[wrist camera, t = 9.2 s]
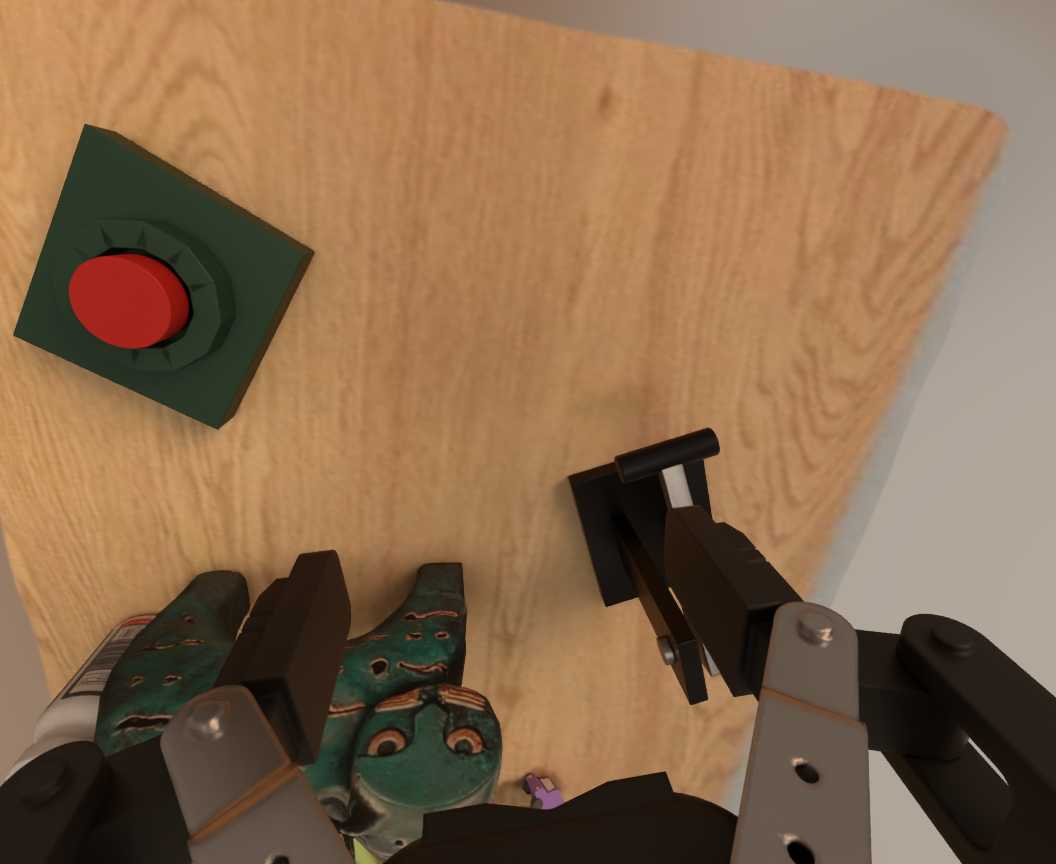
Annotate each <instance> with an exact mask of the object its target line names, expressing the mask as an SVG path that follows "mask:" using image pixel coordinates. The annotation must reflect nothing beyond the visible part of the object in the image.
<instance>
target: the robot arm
mask: <svg viewBox="0 0 1056 864" xmlns="http://www.w3.org/2000/svg"><path fill="white" fill-rule="evenodd" d="M664 568H665V573H666V577H667V580H668V583H669V585H670V587H671V589H672V590H673V592H674V594H675V595H676V597H677V599H678V601H679V602H680V604H681V606H682V608H683V609H684V611H685V613H686V615H687V616H688V618H689V620H690V622H691V623H692V625H693V627H694V629H695V630H696V632H697V634H698V635H699V637H700V639H701V641H702V642H703V644H704V646H705V648H706V649H707V651H708V653H709V655H710V656H711V658H712V660H713V662H714V663H715V665H716V667H717V669H718V670H719V672H720V674H721V676H722V677H723V679H724V681H725V682H726V684H727V686H728V688H729V689H730V691H731V693H732V695H733V696H734V697H737V696H744V695H750V694H754V696H755V698H756V699H757V701H758V703H759V704H758V709H757V715H756V720H755V726H754V732H753V737H752V743H751V748H750V754H749V759H748V765H747V771H746V776H745V782H744V787H743V793H742V798H741V804H740V809H739V815H738V817H737V816H736V815H734V814H733V813H731V812H729V811H728V810H726V809H724V808H722V807H720V806H718V805H716V804H714V803H712V802H709V801H707V800H704V799H701V798H698V797H695V796H691V795H687V794H683V793H675V792H673V790H672V787H671V784H670V782H669V779H668V776H667V774H666V771H665V772H659V773H653V774H648V775H642V776H636V777H630V778H625V779H619V780H613V781H608V782H606V783H604V784H602V785H600V786H598V787H596V788H594V789H592V790H590V791H588V792H586V793H584V794H582V795H579V796H577V797H575V798H573V799H571V800H569V801H567V802H565V803H563V804H561V805H559V806H557V807H555V808H552V809H536V808H527V807H517V806H508V805H498V804H489V803H482V804H477V805H471V806H465V807H460V808H454V809H448V810H443V811H437V812H431V813H425V814H423V829H422V837H421V838H419V839H417V840H415V841H413V842H411V843H410V844H408V845H407V846H405V847H403V848H402V849H400V850H399V851H397V852H396V853H395V854H394V855H392V856H391V857H390V858H389V859H387V860H386V861H385V862H384V863H382V864H872V862H871V861H872V860H871V826H870V793H869V759H868V750H875V751H881V752H882V754H883V755H884V757H885V758H886V759H887V761H888V762H889V764H890V765H891V766H892V768H893V769H894V770H895V772H896V773H897V775H898V776H899V777H900V779H901V780H902V782H903V783H904V784H905V785H906V787H907V788H908V790H909V791H910V793H911V794H912V795H913V797H914V798H915V799H916V801H917V802H918V804H919V805H920V806H921V808H922V809H923V811H924V812H925V813H926V815H927V816H928V817H929V819H930V820H931V821H932V823H933V824H934V826H935V827H936V829H937V830H938V831H939V833H940V834H941V835H942V837H943V838H944V839H945V841H946V842H947V844H948V845H949V847H950V848H951V849H952V850H953V852H954V853H955V855H956V856H957V857H958V859H959V860H960V862H961V863H962V864H1056V697H1054V696H1053V695H1052V694H1051V693H1050V692H1049V691H1047V690H1046V689H1045V688H1044V687H1043V686H1042V685H1040V684H1039V683H1038V682H1037V681H1036V680H1035V679H1034V678H1032V677H1031V676H1030V675H1029V674H1028V673H1026V672H1025V671H1024V670H1023V669H1022V668H1021V667H1020V666H1018V665H1017V664H1016V663H1015V662H1014V661H1013V660H1011V659H1010V658H1009V657H1008V656H1007V655H1006V654H1005V653H1003V652H1002V651H1001V650H1000V649H999V648H998V647H996V646H995V645H994V644H993V643H992V642H991V641H989V640H988V639H987V638H985V636H983V635H982V634H981V633H979V632H978V631H976V630H974V629H973V628H971V627H969V626H967V625H965V624H963V623H960V622H958V621H956V620H953V619H950V618H947V617H944V616H939V615H933V614H918V615H913V616H911V617H909V618H907V619H906V620H905V621H904V623H903V626H902V630H901V633H900V634H892V633H882V632H873V631H864V630H857V629H854V628H853V627H852V625H851V624H850V623H849V622H848V621H847V620H846V619H845V618H843V617H842V616H841V615H839V614H838V613H836V612H835V611H833V610H831V609H829V608H827V607H824V606H821V605H818V604H815V603H810V602H804V601H803V600H802V598H801V597H800V596H799V595H798V594H797V593H796V592H795V591H794V590H793V588H792V587H791V586H790V585H789V584H788V583H787V582H786V581H785V580H784V578H783V577H782V576H781V575H780V574H779V573H778V572H777V571H776V570H775V568H774V567H773V566H772V565H771V564H770V563H769V562H766V558H765V557H764V556H763V555H762V554H761V553H760V552H759V551H758V550H756V549H755V546H754V545H753V544H752V543H751V542H750V541H749V539H748V538H747V537H746V536H745V535H744V534H743V533H742V532H740V531H738V530H737V529H735V528H733V527H731V526H730V525H728V524H726V523H725V522H721V523H715V522H714V520H713V519H712V518H711V517H710V516H709V514H708V513H707V512H706V511H705V510H704V508H703V507H702V506H700V505H693V506H685V507H677V508H670V509H668V511H667V514H666V528H665V545H664ZM350 625H351V605H350V600H349V596H348V592H347V588H346V584H345V580H344V576H343V573H342V569H341V565H340V561H339V557H338V554H337V552H336V551H335V550H327V551H319V552H311V553H303V554H300V555H299V556H298V558H297V560H296V562H295V564H294V566H293V569H292V571H291V573H290V575H289V577H288V578H280V579H276V580H275V581H274V582H273V583H272V584H271V585H270V586H269V587H268V588H267V589H266V590H265V591H264V592H263V593H262V594H261V595H260V596H259V597H258V599H257V601H256V603H255V605H254V607H253V609H252V611H251V613H250V618H248V619H247V620H246V622H245V624H244V626H243V628H242V633H240V634H239V636H238V638H237V640H236V642H235V644H234V646H233V648H232V650H231V652H230V653H229V655H228V657H227V659H226V661H225V663H224V665H223V667H222V669H221V671H220V673H219V675H218V677H217V679H216V681H215V683H214V685H213V686H212V688H211V689H210V690H208V691H205V692H204V693H202V694H200V695H198V696H196V697H195V698H193V699H192V700H190V701H189V702H187V703H186V704H185V705H184V706H182V707H181V708H180V709H179V710H178V711H177V712H176V713H175V714H174V715H173V717H172V718H171V719H170V720H169V722H168V723H167V725H166V727H165V728H164V730H163V733H162V734H160V735H158V736H156V737H154V738H151V739H149V740H146V741H144V742H141V743H139V744H136V745H134V746H131V747H129V748H126V749H124V750H121V751H119V752H116V753H114V754H111V755H109V756H106V757H105V755H104V753H103V752H102V750H101V748H100V747H99V746H98V745H97V744H96V743H94V742H91V741H74V742H70V743H66V744H63V745H60V746H58V747H55V748H53V749H51V750H49V751H47V752H45V753H43V754H41V755H39V756H38V757H36V758H34V759H33V760H31V761H30V762H28V763H27V764H25V765H24V766H23V767H21V768H20V769H19V770H18V771H16V772H15V773H14V774H13V775H12V776H11V777H10V778H8V779H7V780H6V781H5V782H4V784H3V785H2V786H1V787H0V864H191V863H193V864H356V862H355V861H354V859H353V857H352V856H351V854H350V852H349V851H348V849H347V847H346V845H345V844H344V842H343V840H342V839H341V837H340V835H339V833H338V832H337V830H336V828H335V827H334V825H333V823H332V822H331V820H330V818H329V816H328V815H327V813H326V811H325V810H324V808H323V806H322V804H321V803H320V801H319V799H318V798H317V796H316V794H315V792H314V791H313V789H312V787H311V786H310V784H309V782H308V781H307V779H306V777H305V775H304V774H303V772H302V770H301V769H300V767H299V766H304V765H310V764H316V760H317V756H318V752H319V748H320V744H321V740H322V736H323V732H324V728H325V724H326V721H327V717H328V713H329V709H330V705H331V701H332V697H333V693H334V689H335V685H336V681H337V677H338V674H339V670H340V666H341V662H342V658H343V654H344V650H345V646H346V642H347V638H348V634H349V631H350ZM969 737H970V738H971V740H972V741H973V742H974V743H975V744H976V745H977V746H978V747H979V748H980V749H981V751H982V752H984V754H985V755H986V756H987V757H988V758H989V759H990V760H991V762H992V763H993V764H994V765H995V766H996V767H997V768H998V769H999V771H1000V772H1001V773H1002V775H1003V776H1004V778H1005V779H1006V781H1007V783H1008V785H1009V786H1008V785H1007V784H1006V783H1005V782H1004V780H1003V779H1002V778H1001V777H1000V776H999V775H998V774H997V773H996V772H995V770H994V769H993V768H992V767H991V766H990V765H989V764H988V763H987V762H986V761H985V759H984V758H983V757H982V756H981V755H980V754H979V753H978V752H977V750H976V749H975V748H974V747H973V746H972V745H971V744H970V743H969V742H968V739H969Z"/></svg>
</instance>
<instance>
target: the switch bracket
mask: <svg viewBox="0 0 1056 864" xmlns="http://www.w3.org/2000/svg"><path fill="white" fill-rule="evenodd" d="M683 469H684V473H685V476H686V480H687V484H688V487H689V491H690V495H691V498H692V502H693V505H700V506H702V507H703V508H704V510H705V511H706V512H707V513H708V514H709V516H710V517H711V518H712V514H711V507H710V500H709V494H708V487H707V481H706V474H705V468H704V461H703V459H702V460H699V461H696V462H693V463H690V464H686V465H683ZM568 479H569V482H570V486H571V489H572V493H573V496H574V500H575V504H576V507H577V511H578V514H579V518H580V521H581V525H582V528H583V532H584V536H585V539H586V543H587V546H588V550H589V553H590V557H591V560H592V564H593V568H594V571H595V575H596V578H597V582H598V585H599V589H600V592H601V596H602V599H603V601H604V604H605V606H606V607H608V606H612V605H615V604H618V603H621V602H624V601H627V600H631V599H634V598H637V597H638V598H639V600H640V602H641V604H642V606H643V608H644V610H645V612H646V614H647V616H648V618H649V620H650V623H651V625H652V627H653V629H654V631H655V633H656V635H657V637H658V638H656V640H657V645H658V648H659V651H660V654H661V656H662V659H663V661H664V663H665V664H666V665H670V664H671V666H672V668H673V670H674V672H675V674H676V677H677V679H678V681H679V683H680V685H681V687H682V689H683V691H684V693H685V695H686V697H687V699H688V701H689V704H690V705H694V704H697V703H700V702H703V701H706V700H708V694H707V689H706V684H705V678H704V673H703V668H702V662H701V657H700V652H699V647H698V641H697V638H696V636H695V634H694V633H693V631H692V629H691V627H690V626H689V624H688V622H687V621H686V619H685V617H684V615H683V614H682V612H681V610H680V608H679V607H678V605H677V603H676V601H675V600H674V598H673V596H672V594H671V593H670V591H669V589H668V588H669V587H670V585H669V583H668V580H667V577H666V573H665V568H664V545H665V528H666V514H667V511H668V508H667V504H666V501H665V497H664V494H663V490H662V487H661V483H660V479H659V476H658V474H654V475H651V476H648V477H645V478H641V479H638V480H635V481H632V482H629V483H625V484H624V483H622V481H621V480H620V478H619V475H618V473H617V470H616V466H615V462H613V463H610V464H607V465H603V466H600V467H597V468H594V469H591V470H587V471H584V472H581V473H578V474H575V475H571V476H569V477H568Z"/></svg>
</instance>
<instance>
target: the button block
mask: <svg viewBox="0 0 1056 864" xmlns="http://www.w3.org/2000/svg"><path fill="white" fill-rule="evenodd" d="M120 254H138V255H143V256H146V257H149V258H152V259H154V260H156V261H158V262H160V263H161V264H163V265H164V266H165V267H167V268H168V269H169V270H170V271H171V272H173V273H174V275H175V276H176V277H177V278H178V279H179V281H180V282H181V284H182V285H183V287H184V289H185V292H186V294H187V298H188V303H189V313H188V318H187V321H186V323H185V325H184V326H183V328H182V329H181V330H180V331H179V332H178V333H177V334H175V335H174V336H172V337H170V338H168V339H165V340H163V341H161V342H158V343H156V344H153V345H151V346H148V347H145V348H139V349H129V348H122V347H118V346H114V345H111V344H109V343H107V342H105V341H103V340H101V339H99V338H98V337H96V336H95V335H93V334H92V333H91V332H90V331H88V330H87V329H86V327H85V326H84V325H83V324H82V323H81V322H80V320H79V319H78V317H77V316H76V314H75V312H74V310H73V308H72V305H71V302H70V297H69V284H70V281H71V278H72V276H73V274H74V272H75V271H76V269H77V268H78V267H79V266H80V265H81V264H83V263H84V262H86V261H88V260H90V259H93V258H96V257H101V256H110V255H120ZM313 255H314V251H313V250H311V249H310V248H308V247H306V246H305V245H303V244H301V243H300V242H298V241H296V240H295V239H293V238H291V237H290V236H288V235H286V234H285V233H283V232H281V231H280V230H278V229H276V228H275V227H273V226H271V225H270V224H268V223H266V222H265V221H263V220H261V219H260V218H258V217H256V216H255V215H253V214H251V213H250V212H248V211H246V210H245V209H243V208H241V207H240V206H238V205H236V204H235V203H233V202H231V201H230V200H228V199H226V198H225V197H223V196H221V195H220V194H218V193H216V192H215V191H213V190H212V189H210V188H208V187H207V186H205V185H203V184H202V183H200V182H198V181H197V180H195V179H193V178H192V177H190V176H188V175H187V174H185V173H183V172H182V171H180V170H178V169H177V168H175V167H173V166H172V165H170V164H168V163H167V162H165V161H163V160H162V159H160V158H158V157H157V156H155V155H153V154H152V153H150V152H148V151H147V150H145V149H143V148H142V147H140V146H138V145H137V144H135V143H133V142H132V141H130V140H128V139H127V138H125V137H123V136H122V135H120V134H118V133H117V132H114V131H111V130H107V129H103V128H99V127H95V126H91V125H87V124H85V125H84V127H83V130H82V133H81V136H80V139H79V142H78V145H77V148H76V151H75V154H74V157H73V160H72V163H71V166H70V169H69V172H68V175H67V178H66V181H65V184H64V186H63V189H62V192H61V195H60V198H59V201H58V204H57V207H56V210H55V213H54V216H53V219H52V222H51V225H50V228H49V231H48V234H47V237H46V240H45V243H44V245H43V248H42V251H41V254H40V257H39V260H38V263H37V266H36V269H35V272H34V275H33V278H32V281H31V284H30V287H29V290H28V293H27V296H26V299H25V302H24V304H23V307H22V310H21V313H20V316H19V319H18V322H17V325H16V328H15V331H14V334H13V335H14V336H15V337H18V338H20V339H22V340H24V341H26V342H28V343H31V344H33V345H35V346H37V347H39V348H41V349H44V350H46V351H48V352H50V353H52V354H54V355H57V356H59V357H61V358H63V359H65V360H67V361H70V362H72V363H74V364H76V365H78V366H81V367H83V368H85V369H87V370H89V371H91V372H94V373H96V374H98V375H100V376H102V377H104V378H107V379H109V380H111V381H113V382H115V383H117V384H120V385H122V386H124V387H126V388H128V389H130V390H133V391H135V392H137V393H139V394H141V395H143V396H146V397H148V398H150V399H152V400H154V401H157V402H159V403H161V404H163V405H165V406H167V407H170V408H172V409H174V410H176V411H178V412H180V413H183V414H185V415H187V416H189V417H191V418H193V419H196V420H198V421H200V422H202V423H204V424H206V425H209V426H211V427H213V428H215V429H220V428H221V427H222V426H223V425H224V424H225V423H227V422H228V421H229V420H230V419H231V418H232V417H233V416H234V415H235V413H236V411H237V409H238V407H239V405H240V403H241V401H242V399H243V397H244V395H245V393H246V391H247V389H248V387H249V385H250V383H251V381H252V379H253V377H254V375H255V373H256V370H257V368H258V366H259V364H260V362H261V360H262V358H263V356H264V354H265V352H266V350H267V348H268V346H269V344H270V342H271V340H272V338H273V336H274V334H275V332H276V330H277V328H278V326H279V324H280V322H281V320H282V318H283V316H284V314H285V312H286V310H287V308H288V306H289V304H290V302H291V300H292V297H293V295H294V293H295V291H296V289H297V287H298V285H299V283H300V281H301V279H302V277H303V275H304V273H305V271H306V269H307V267H308V265H309V263H310V261H311V259H312V257H313Z"/></svg>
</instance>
